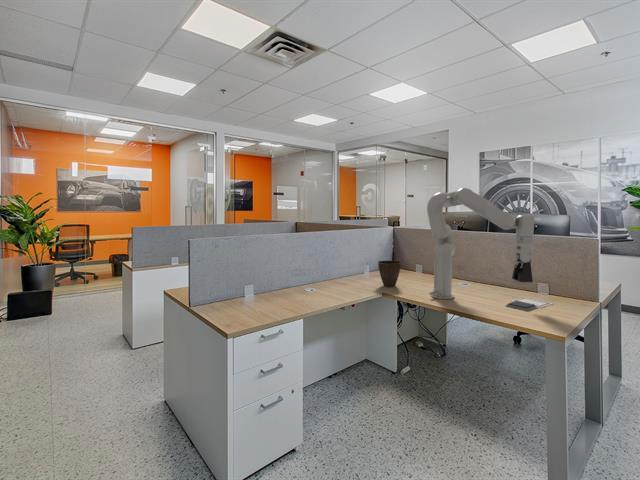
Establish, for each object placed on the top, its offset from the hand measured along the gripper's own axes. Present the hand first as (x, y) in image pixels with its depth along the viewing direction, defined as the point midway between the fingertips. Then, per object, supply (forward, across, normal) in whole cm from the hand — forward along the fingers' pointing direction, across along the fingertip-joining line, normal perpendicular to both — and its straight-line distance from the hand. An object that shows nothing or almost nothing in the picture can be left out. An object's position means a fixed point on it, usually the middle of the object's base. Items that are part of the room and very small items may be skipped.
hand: (522, 274), depth 169 cm
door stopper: (+3, 0, 0) cm, 3 cm away
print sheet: (+17, +13, 0) cm, 21 cm away
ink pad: (+17, 0, 0) cm, 17 cm away
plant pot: (+18, -20, +74) cm, 78 cm away
